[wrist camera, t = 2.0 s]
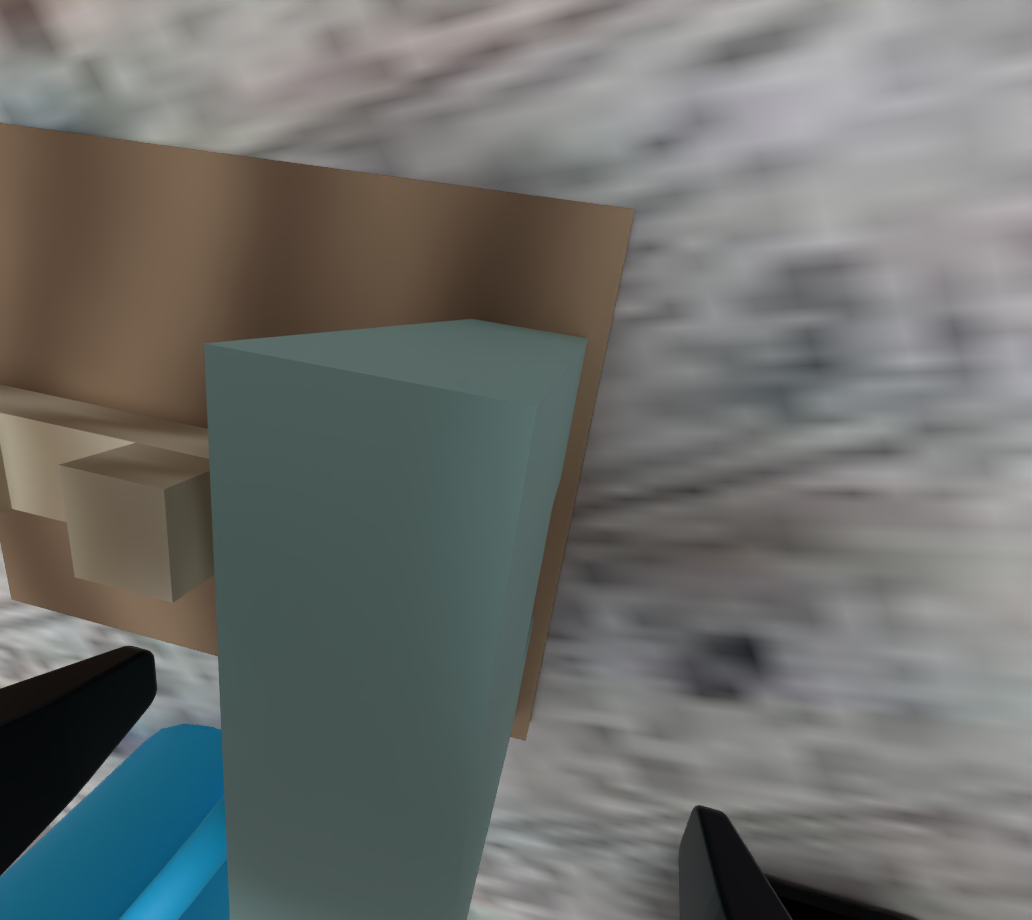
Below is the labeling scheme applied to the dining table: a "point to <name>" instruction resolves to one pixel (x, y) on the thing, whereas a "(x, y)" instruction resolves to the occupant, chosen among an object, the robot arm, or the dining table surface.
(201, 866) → the mug
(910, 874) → the dining table surface
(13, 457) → the cream handle bar
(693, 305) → the dining table surface
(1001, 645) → the dining table surface
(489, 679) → the teal block
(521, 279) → the board
